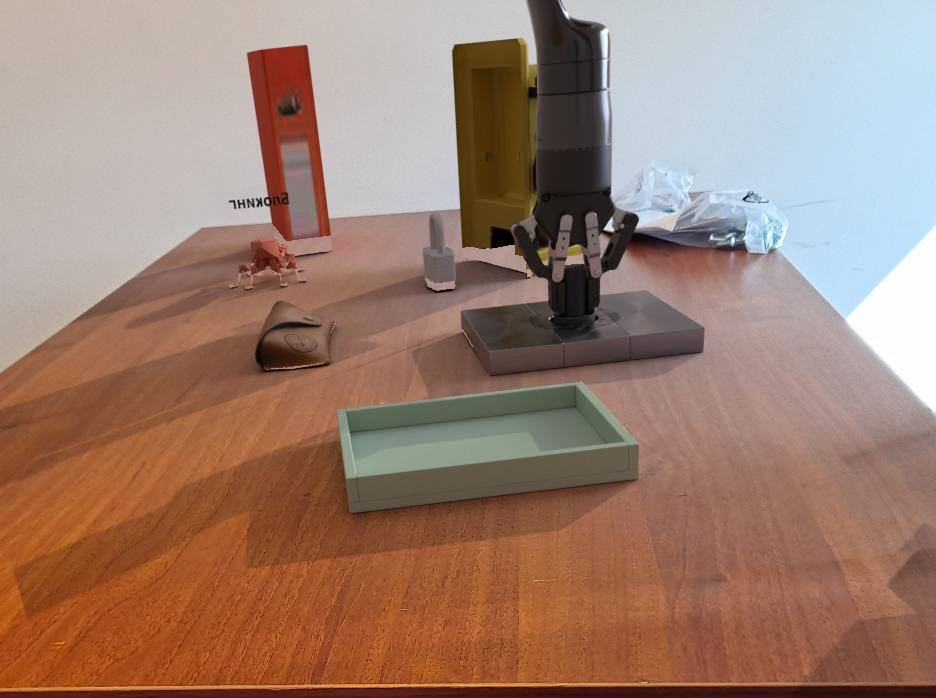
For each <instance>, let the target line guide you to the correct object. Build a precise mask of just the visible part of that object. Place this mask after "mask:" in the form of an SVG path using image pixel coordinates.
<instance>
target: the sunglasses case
mask: <svg viewBox="0 0 936 698" xmlns="http://www.w3.org/2000/svg"><path fill="white" fill-rule="evenodd" d="M335 320H336V319H334V318H332V317H329V316H328V315H327V316H326V315H322V314H319V313H315V312H311V311H307V310H305V309H304V308H302V307H300V306H298V305H296V304H294V303H291V302H288V301H286V300H277V301H276V302H275V303H274V304H273V305H272V307H271V310H270V312H269V313H268V315H267V317H266V319H265V321H264V323H263V326H262V328H261V330H260V333H259V335H258V338H257V342H256V345H255V346H256V347H255V350H254V359H255V362H256V363H257V365H258V366H259V367H260V368H261V369H262V370H264V369H271V368H283V367H285V368H287V367H294V366H302V365H311V364H312V365H313V364H317V363H326V364H328V363H330V362H331V353H330V343H331V342H330V341H331V337H332V334H331V331H332V328H333V326H334V323H335ZM330 336H331V337H330Z"/></svg>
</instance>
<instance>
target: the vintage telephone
mask: <svg viewBox="0 0 936 698" xmlns="http://www.w3.org/2000/svg"><path fill="white" fill-rule="evenodd" d="M451 61H452V62H451V63H452V81H453V98H454V100H453V101H454V119H455V138H456V139H455V140H456V155H457V175H458V193H459V196H458V197H459V213H460V215H459V216H460V230H461V232H460V234H461V249H462V248H465V247H475V248H479V249H486V248H490V249H492V248H498V247H503V246H508V245H515V255H519V256H523V255H522V253H521V251H520V249H519V247H518V245H517V243H516V241H515V239H514V238H513V236H512V234H511V232H510V225H511V224H512V223H514V222H517V223H520V222H521V221H523V220H524V219H526V218H528V217H529V216H531V215H532V211H533V208H534V206H535V203H536V200H537V182H536V144H535V139H534V134H535V119H536V109H537V96H538V95H539V94H537V63H529V61H530V60H529V44H528V43H527V41H526V40H525V39H524V37H517V38H507V39H496V40H487V41H484V40H483V41H477V42H476V41H475V42H466V43H455V44H454V45H453V47H452V50H451ZM535 234H536V235H535V238H534V239H533V240H532V243H533V245H534V247H535V249H536V250H537V252H538V254H539V256H540V258H541V260H542V261H546V260H548V257H549V255H548V247H549V239H548V238H547V236H546V235H545V234H544V232H543V231H542V230H541V228H540V227H539V226H538V225H536V226H535ZM580 254H582V252H581V247H580V245H574V246H572V247H569V248H568V255H567V256H573V255H574V256H575V255H580ZM523 258H524V257H523ZM524 260H525V259H524ZM527 269H530V268H529V266H528V264H527V263H526V270H527Z"/></svg>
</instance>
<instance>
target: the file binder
mask: <svg viewBox="0 0 936 698" xmlns="http://www.w3.org/2000/svg"><path fill="white" fill-rule="evenodd" d="M246 58H247V66H248V72H249V78H250V85H251V91H252V98H253V106H254V112H255V118H256V125H257V132H258V139H259V143H260V144H259V146H260V152H261V153H260V154H261V159H262V160H261V161H262V166H263V172H264V180H265V186H266V193H267V197H270V198H271V200H272V205H271V206H269V212H270V219H271V225H272V224H273V226H275V227H276V229H277V230H278V231H279V233H280V234H281V235H282V236H283V238H284V239H285V240H286V241H292V240H299V239H307V238H315V237H323V236H330V235H331V236H332V233H331V225H330V217H329V216H330V215H329V209H328V202H327V191H326V185H325V177H324V167H323V159H322V158H323V157H322V153H321V152H322V151H321V144H320V136H319V127H318V119H317V111H316V103H315V95H314V87H313V78H312V71H311V62H310V54H309V46H308V45H307V44H300V45H299V44H298V45H290V46H280V47H272V48H263V49H257V50H252V51H249V52H246ZM284 192H288V199H289V205H284V204H283V203H282V202H281V200H282V198H283V197H286V194H285V195H281V193H284ZM273 196H279V199H280V202H281V203H282V205H280V204H278V202H277V198H275V200H276V206H274V202H273ZM284 202H286V200H284Z"/></svg>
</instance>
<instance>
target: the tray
mask: <svg viewBox="0 0 936 698" xmlns="http://www.w3.org/2000/svg"><path fill="white" fill-rule="evenodd" d="M336 419H337V427H338V428H337V429H338V437H339V444H340V450H341V451H340V452H341V458H342V459H341V460H342V466H343V474H344V483H345V489H346V496H347V497H346V498H347V503H348V512H349V514H357V513H365V512H374V511H380V510H389V509H390V510H391V509H397V508H398V509H399V508H406V507H415V506H422V505H432V504H439V503H440V504H441V503H448V502H449V503H450V502H455V501H465V500H472V499H473V500H475V499H482V498H491V497H497V496H498V497H499V496H507V495H514V494H515V495H516V494H522V493H530V492H531V493H532V492H540V491H541V492H542V491H549V490H557V489H564V488H565V489H566V488H574V487H582V486H590V485H591V486H592V485H599V484H607V483H608V484H609V483H613V482H614V483H615V482H616V483H617V482H623V481H631V480H638V479H639V468H640V467H639V466H640V465H639V464H640V463H639V462H640V460H639V459H640V443H639V442H638V441H637V440H636V439H635V438H634V437H633V436H632V435H631V434H630V432H629V431H628V430H627V429H626V428H625V427H624V426H623V424H622V423H620V422H619V420H618V419H617V418H616V417H615V416H614V414H612V413H611V412H610V411H609V409H608V408H607V407H606V405H604V404H603V403H602V402H601V401H600V400H599V399H598V397H596V395H595V394H594V393H593V392H592V391H591V390H590V389H589V387H588V386H587V385H586V384H585V383H584V382H583V381H574V382H566V383H559V384H550V385H542V386H541V385H540V386H531V387H524V388H523V387H522V388H514V389H506V390H505V389H504V390H499V391H497V390H496V391H488V392H487V391H486V392H479V393H470V394H469V393H468V394H461V395H453V396H443V397H435V398H426V399H418V400H410V401H402V402H392V403H384V404H375V405H374V404H373V405H366V406H364V405H363V406H356V407H348V408H340V409H336Z"/></svg>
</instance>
